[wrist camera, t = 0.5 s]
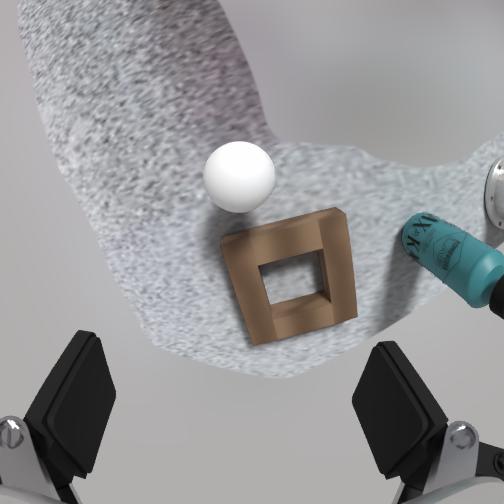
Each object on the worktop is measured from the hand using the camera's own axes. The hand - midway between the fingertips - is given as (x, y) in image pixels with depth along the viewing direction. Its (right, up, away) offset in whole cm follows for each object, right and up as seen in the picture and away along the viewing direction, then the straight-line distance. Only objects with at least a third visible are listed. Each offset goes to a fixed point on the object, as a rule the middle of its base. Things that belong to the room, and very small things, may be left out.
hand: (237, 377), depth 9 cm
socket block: (+6, +1, +27) cm, 28 cm away
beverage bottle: (+23, +7, +26) cm, 35 cm away
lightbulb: (-1, +13, +23) cm, 26 cm away
